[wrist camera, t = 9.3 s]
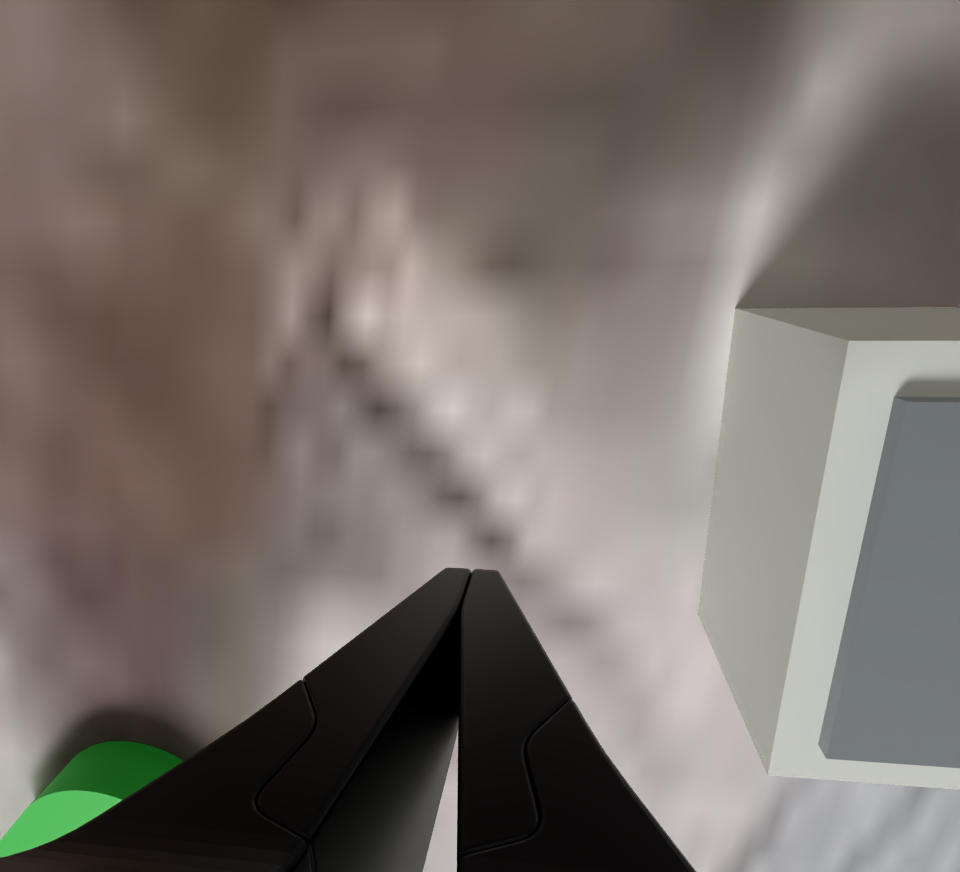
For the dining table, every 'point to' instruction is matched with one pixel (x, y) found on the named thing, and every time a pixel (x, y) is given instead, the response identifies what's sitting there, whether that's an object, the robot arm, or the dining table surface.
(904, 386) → the block
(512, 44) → the dining table surface
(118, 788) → the mechanical part
